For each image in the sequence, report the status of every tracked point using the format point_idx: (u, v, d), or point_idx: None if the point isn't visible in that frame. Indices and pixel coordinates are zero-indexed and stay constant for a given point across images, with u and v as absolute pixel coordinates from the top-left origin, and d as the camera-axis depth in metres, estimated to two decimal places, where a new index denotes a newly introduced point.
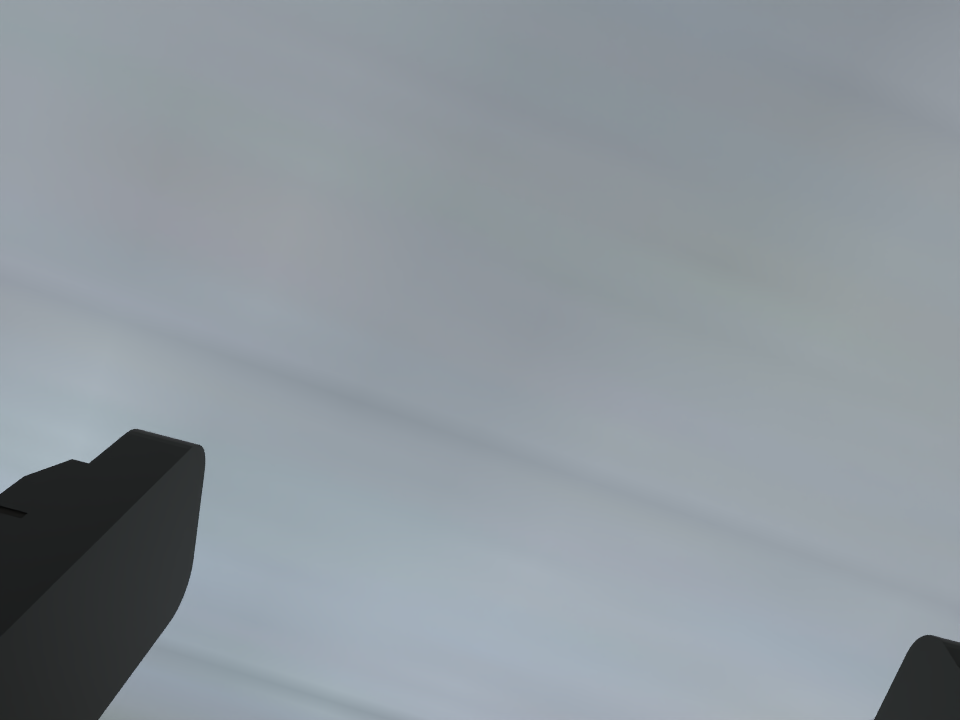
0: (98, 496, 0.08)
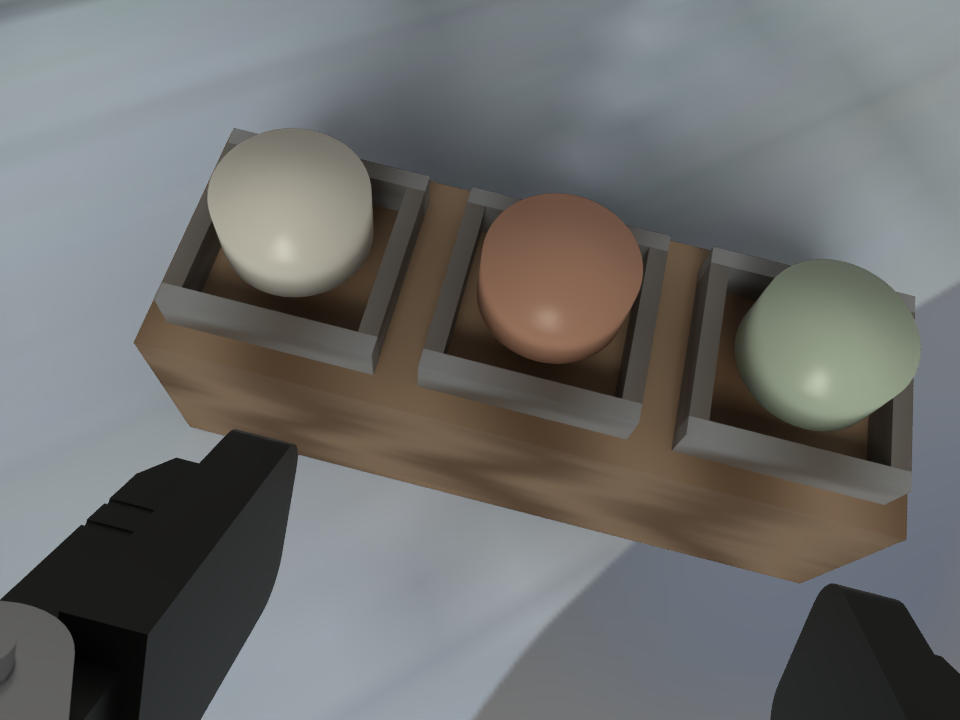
0: (215, 492, 0.08)
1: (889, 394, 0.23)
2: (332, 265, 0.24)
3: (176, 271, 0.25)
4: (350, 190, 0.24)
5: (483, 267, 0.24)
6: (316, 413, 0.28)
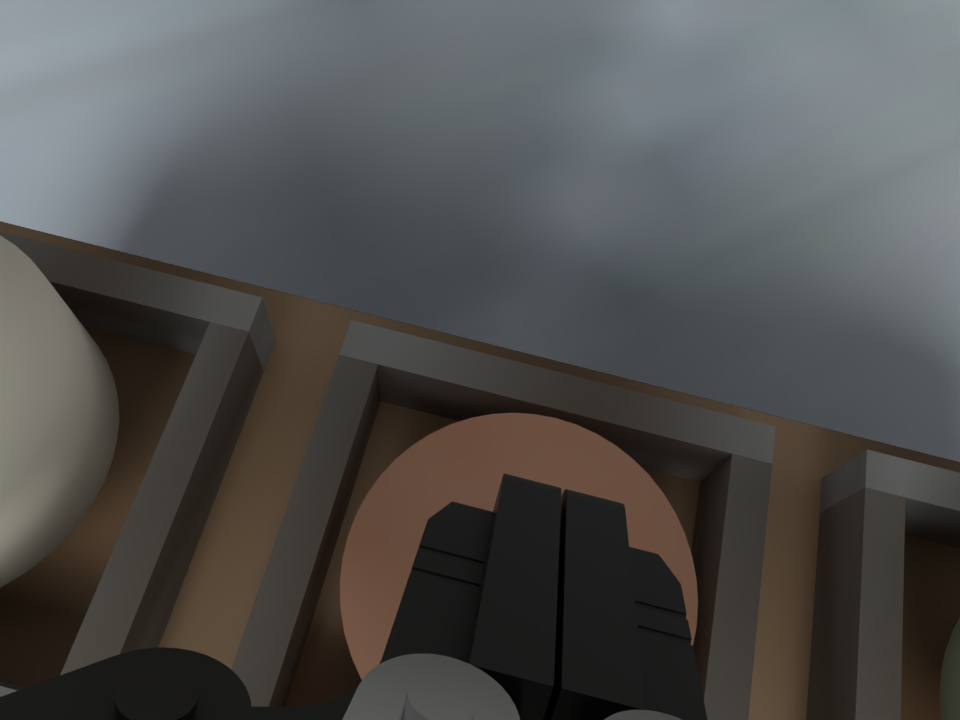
0: (527, 540, 0.09)
1: None
2: None
3: None
4: (11, 371, 0.10)
5: (342, 605, 0.11)
6: None
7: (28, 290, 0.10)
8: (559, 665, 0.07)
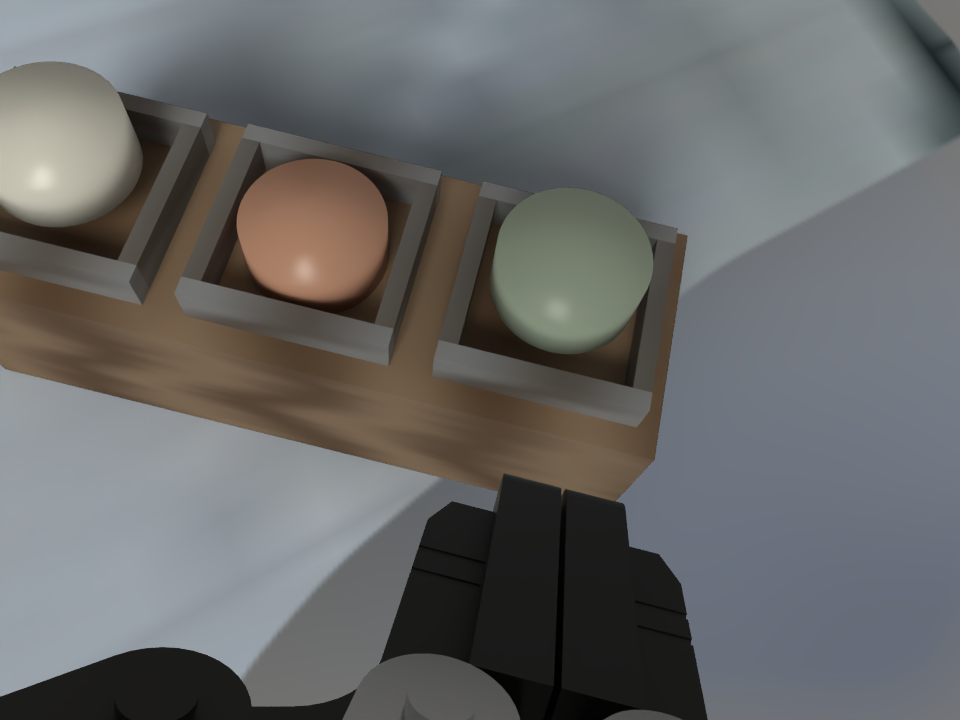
0: (527, 540, 0.09)
1: (615, 313, 0.24)
2: (84, 193, 0.25)
3: None
4: (102, 120, 0.25)
5: (237, 225, 0.26)
6: (99, 346, 0.28)
7: (107, 92, 0.25)
8: (559, 665, 0.07)
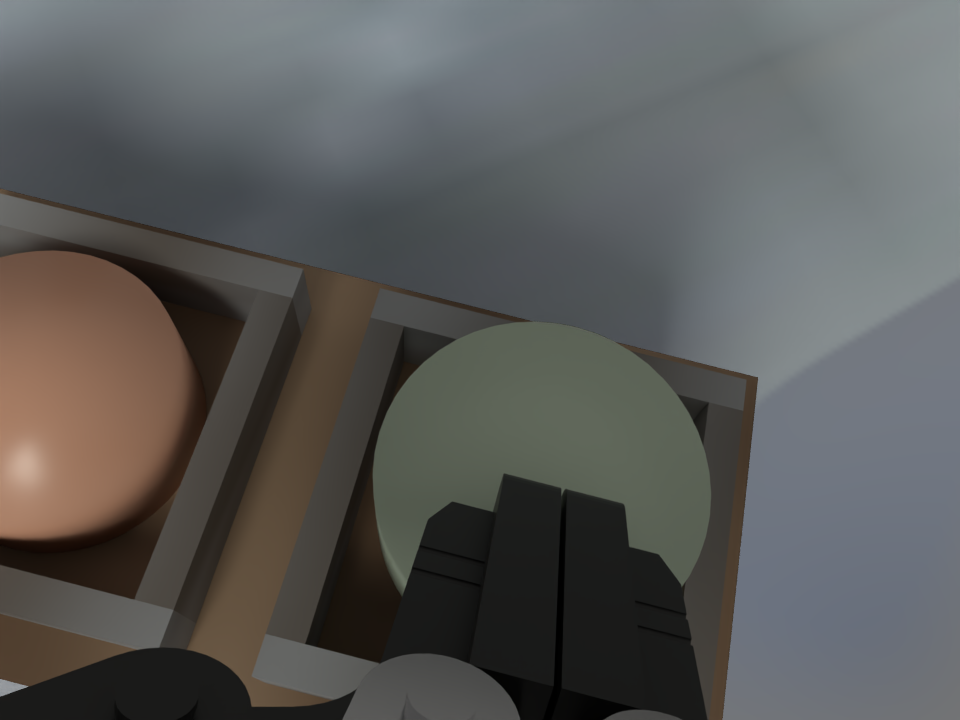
0: (527, 540, 0.09)
1: None
2: None
3: None
4: None
5: None
6: None
7: None
8: (559, 665, 0.07)
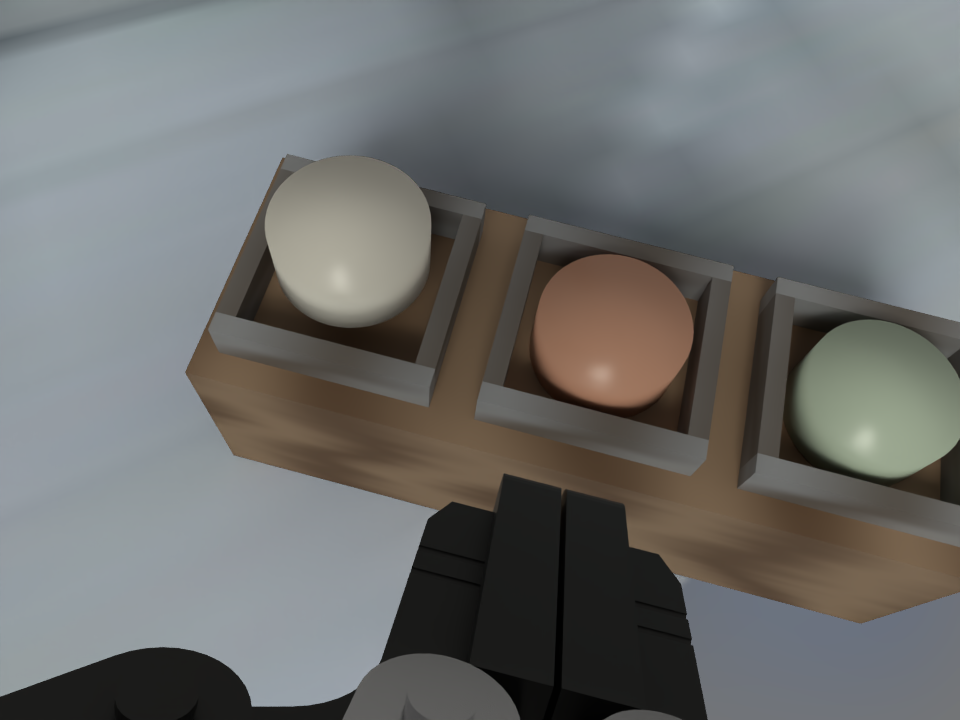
0: (527, 540, 0.09)
1: (936, 454, 0.24)
2: (391, 296, 0.24)
3: (230, 300, 0.25)
4: (409, 219, 0.24)
5: (539, 327, 0.25)
6: (367, 445, 0.27)
7: (410, 188, 0.24)
8: (559, 665, 0.07)
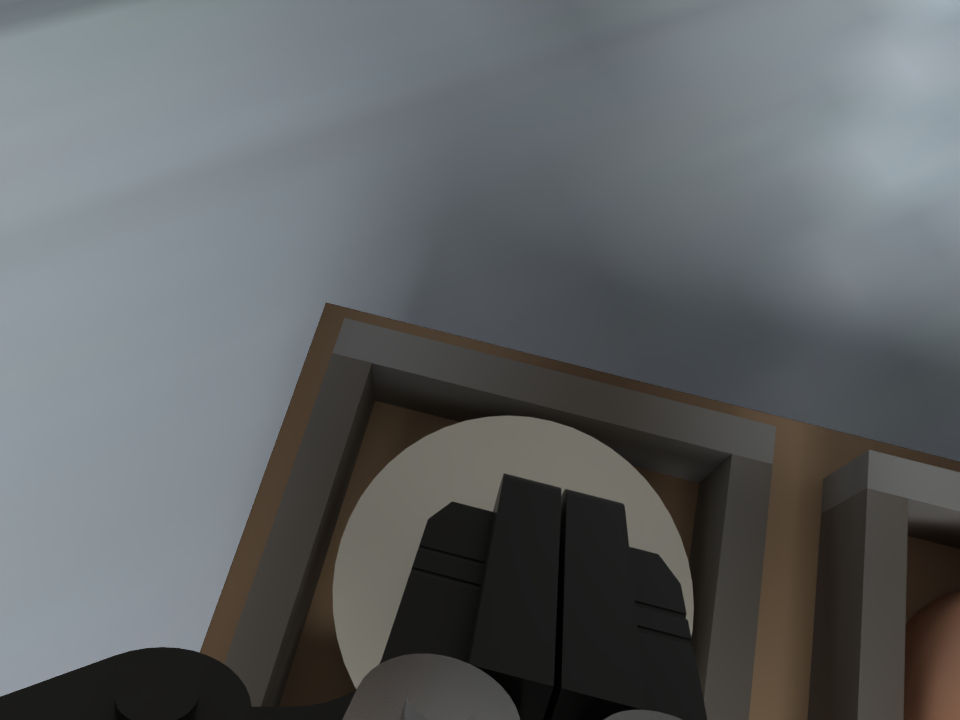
0: (527, 539, 0.09)
1: None
2: None
3: None
4: None
5: None
6: None
7: (636, 493, 0.11)
8: (559, 665, 0.07)
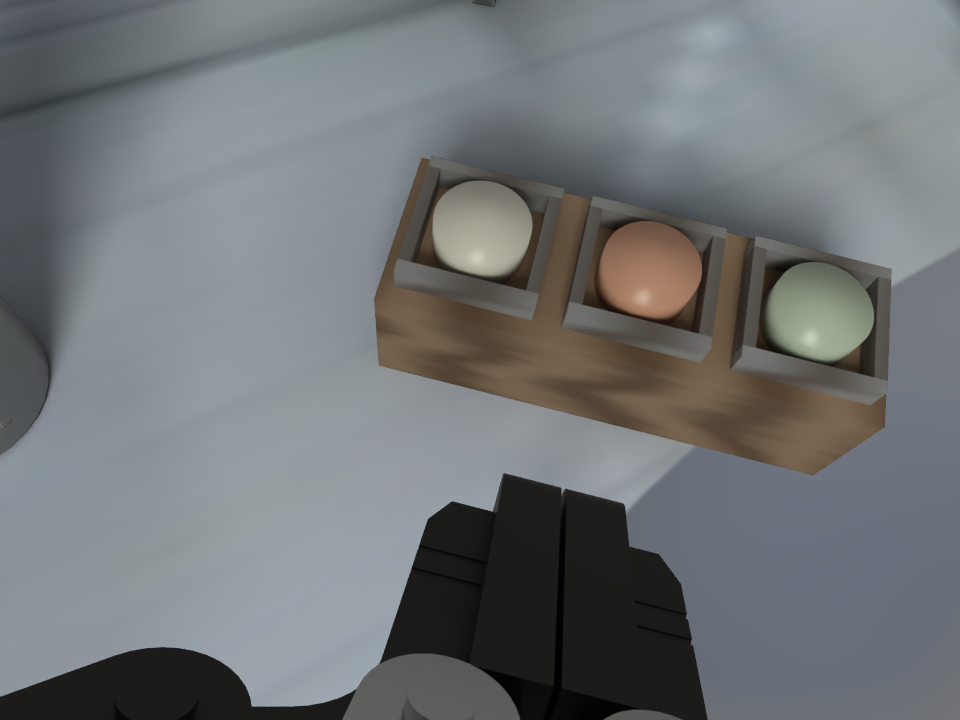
0: (527, 540, 0.09)
1: (854, 344, 0.38)
2: (509, 266, 0.39)
3: (405, 251, 0.39)
4: (519, 220, 0.39)
5: (604, 267, 0.39)
6: (486, 348, 0.41)
7: (518, 201, 0.40)
8: (559, 665, 0.07)
